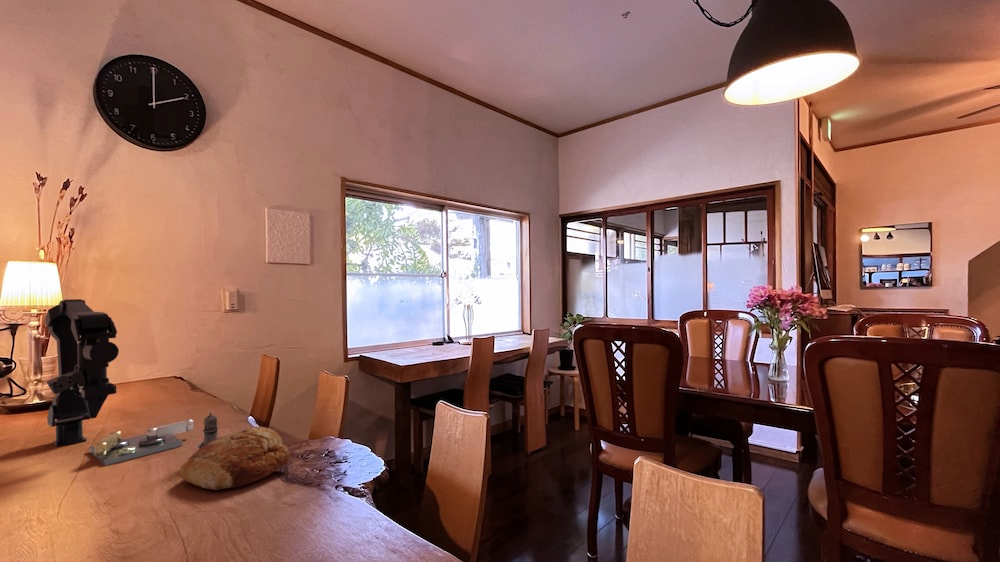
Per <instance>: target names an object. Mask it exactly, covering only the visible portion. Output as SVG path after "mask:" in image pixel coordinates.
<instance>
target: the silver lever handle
mask: <svg viewBox="0 0 1000 562" xmlns="http://www.w3.org/2000/svg"><path fill="white" fill-rule="evenodd" d="M193 430H194V419H192V418H191V419H190V418H189V419H184V420H182V421H178V422H172V423H168V424H164V425H160V426H156V427H150V428H147V429H146V434H147V438H144V439H141V440H140V441H139V445H141V446H146V445H153V444H157V443H160V442H163V441H164V440H165V436H169V435H173V436H174V435H177V434H180V433H186V432H190V431H193Z"/></svg>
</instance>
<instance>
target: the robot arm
mask: <svg viewBox="0 0 1000 562" xmlns="http://www.w3.org/2000/svg"><path fill="white" fill-rule="evenodd" d="M45 314H46V315H45V316H44V317H45V318H44V323H45V327H46V328H47V329H48V330H47V331H48V334H49V335H50V336H51V338H53V339H54V340H55V341H56V351H57V354H56V355H57V369H58V371H57V372H58V376H57V377H54V378H51V379H48V380H47V381H46V384H47V386H48V388H49V389H50V392H52V394H54V397H53V398H52V401H51V403H52V405H49V406H50V407H49V410H48V414H47V425H48V426H50V427H52V428H53V427H55V440H53V441H52V442H51V443H52V444H53V446H55V447H56V448H60V447H65V446H70V444H71V445H74V444H79V443H83V442H86V441H88V440H87V438H86V437H85V436H83V435H84V433H83V430H84V427H83V425H84V424H83V422H84V421H86V420H91V419H95V418H97V417H98V414H99V413H100V411H101V408H102V407H103V405H104V403H105V402H106V400H107V398H108V397H109V395H115V394H117V385H115V384H114V383H112V382H110V378H109V377H108V372H107V369H108V368H109V367H110V363H112V362H113V361H115V359H116V358H118V356H119V347H118V346H117V345H116V344H115V343H114V342H112V341H110V339H116V338H117V334H118V331H117V328H116V325H115V322H114V320H113V319H112V317H110V316H109V315H108V313H106V312H103V311H101V312H100V311H94V310H93V309H92V308H91V307H89V306H88V304H86V300H85V299H81V298H78V299H77V298H73V299H72V298H71V299H63V300H60V301H59V303H58V304H57V305H55V306H53V307H51V308H49V309H48V310H47V312H46V313H45ZM59 446H60V447H59Z"/></svg>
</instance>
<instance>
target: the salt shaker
mask: <svg viewBox="0 0 1000 562" xmlns="http://www.w3.org/2000/svg"><path fill="white" fill-rule="evenodd" d="M203 428H204V429H203V430H202V432H203V441H202V442H200V443H199V444H198V445H197V447H198V448H199V449H200V448H202V447H203V446H205V445H206V444H208V443H210V442H212V441H214V440H215V439H217V438H219V437H218V430H219V427H218V418H217V416H216V415H213V413H212V412H209V415H208V416H206V417H205V418H204V427H203ZM199 449H198V450H199Z"/></svg>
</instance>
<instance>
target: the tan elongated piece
mask: <svg viewBox="0 0 1000 562" xmlns="http://www.w3.org/2000/svg"><path fill="white" fill-rule="evenodd" d="M128 444H129V440H128V439H127V438H124V439H122V431H121V430H115V431H112V432H109V434H108V435H107V436H105V437H104V438H103V439H100V441H98V442H96V443H94V445H93V446H94V452H95V456H101V455H105V454H107V451H109V450H110V449H116V448H120V447H123V446H126V445H128Z"/></svg>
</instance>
